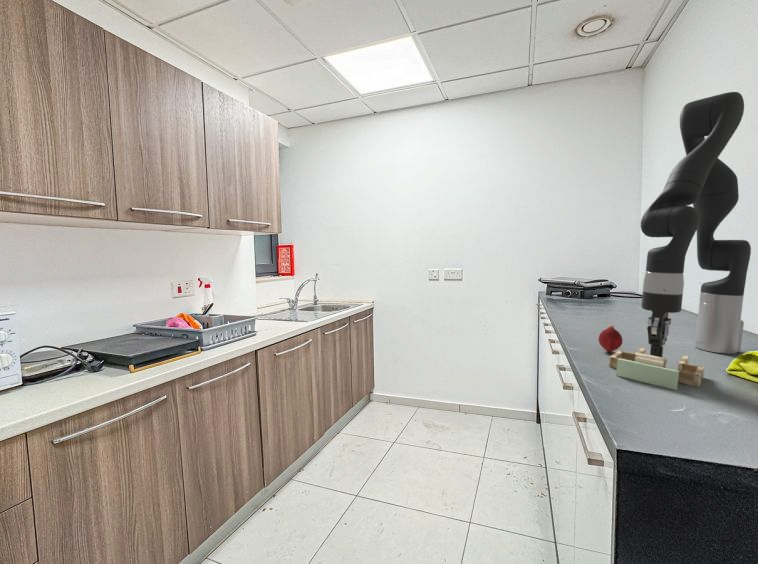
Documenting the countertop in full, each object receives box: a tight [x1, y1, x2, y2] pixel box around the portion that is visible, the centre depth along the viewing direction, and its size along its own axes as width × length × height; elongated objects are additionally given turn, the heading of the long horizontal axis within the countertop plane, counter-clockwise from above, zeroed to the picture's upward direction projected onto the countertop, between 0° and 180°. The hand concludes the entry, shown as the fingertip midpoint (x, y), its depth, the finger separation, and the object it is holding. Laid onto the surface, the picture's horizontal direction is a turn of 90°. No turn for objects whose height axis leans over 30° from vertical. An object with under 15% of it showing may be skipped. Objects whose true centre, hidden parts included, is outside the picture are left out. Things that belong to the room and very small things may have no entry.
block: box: [635, 353, 668, 368], centre depth 80 cm, size 5×5×5 cm
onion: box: [598, 324, 624, 353], centre depth 100 cm, size 6×6×8 cm
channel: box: [608, 347, 705, 388], centre depth 86 cm, size 22×17×2 cm
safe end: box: [615, 358, 679, 391], centre depth 78 cm, size 1×11×4 cm, turn 43°
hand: (655, 360), depth 85 cm, fingers closed
